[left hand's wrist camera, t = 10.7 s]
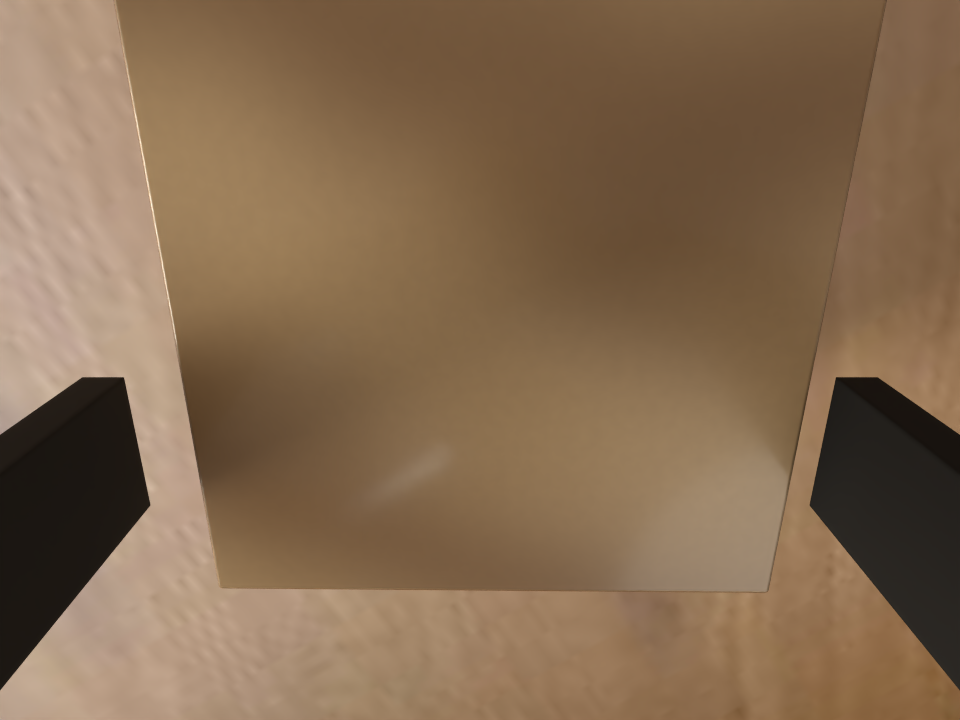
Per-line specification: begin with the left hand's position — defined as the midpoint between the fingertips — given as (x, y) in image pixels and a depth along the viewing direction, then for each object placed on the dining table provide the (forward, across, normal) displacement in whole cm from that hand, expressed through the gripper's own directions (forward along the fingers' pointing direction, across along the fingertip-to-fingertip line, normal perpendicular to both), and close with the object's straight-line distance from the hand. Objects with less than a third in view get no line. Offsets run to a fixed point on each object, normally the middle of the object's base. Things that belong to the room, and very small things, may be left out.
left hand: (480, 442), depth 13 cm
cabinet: (+10, 0, -8) cm, 12 cm away
